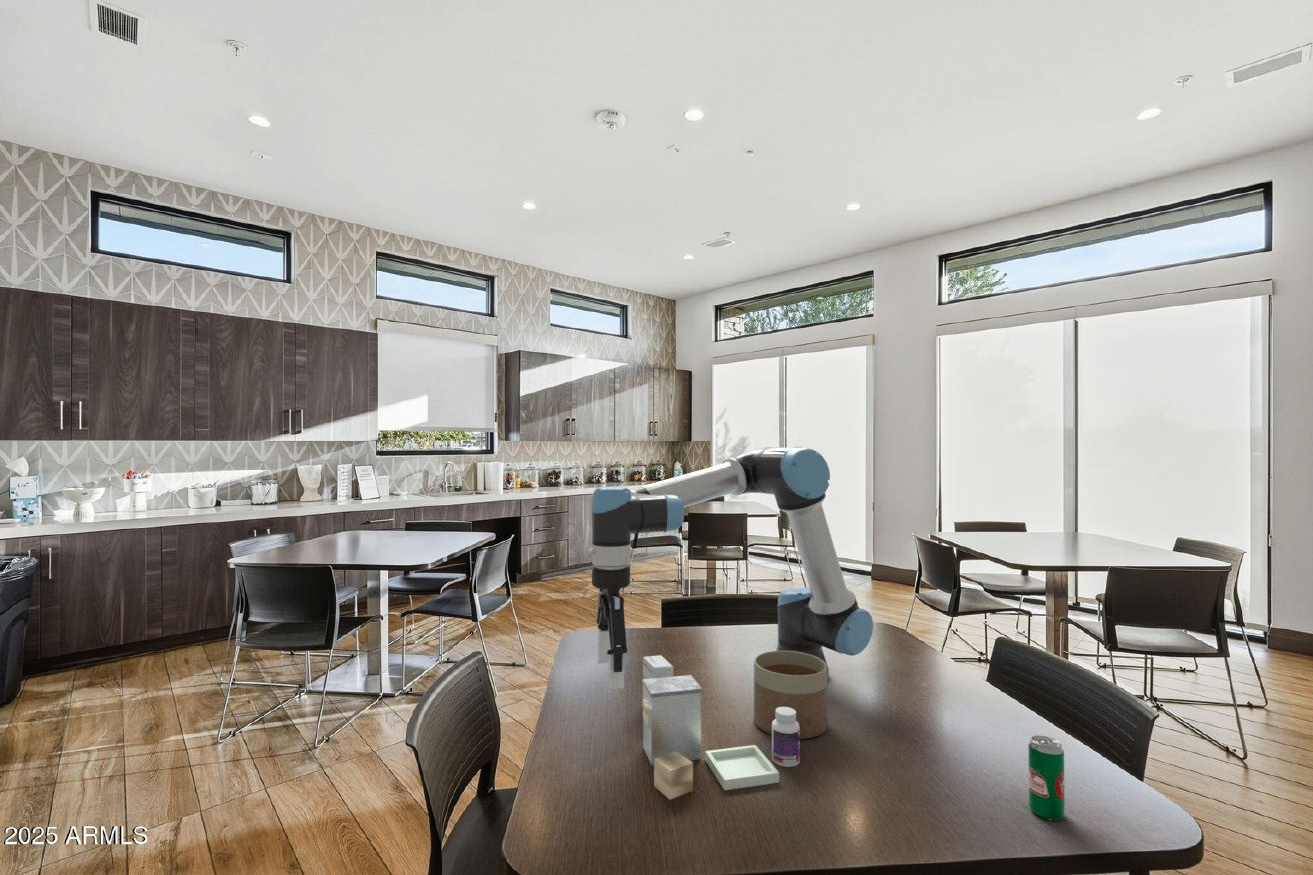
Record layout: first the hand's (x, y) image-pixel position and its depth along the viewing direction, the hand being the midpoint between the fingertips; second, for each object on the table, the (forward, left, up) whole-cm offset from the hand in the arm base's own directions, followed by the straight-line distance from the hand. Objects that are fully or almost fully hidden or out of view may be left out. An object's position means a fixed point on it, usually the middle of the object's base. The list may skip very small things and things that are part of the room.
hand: (610, 674), depth 117 cm
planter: (-42, -6, -17) cm, 45 cm away
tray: (-24, +10, -17) cm, 30 cm away
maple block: (-10, +12, -17) cm, 23 cm away
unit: (-12, 0, -17) cm, 21 cm away
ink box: (-14, -19, -17) cm, 29 cm away
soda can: (-68, +34, -17) cm, 78 cm away
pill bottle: (-34, +8, -17) cm, 38 cm away
